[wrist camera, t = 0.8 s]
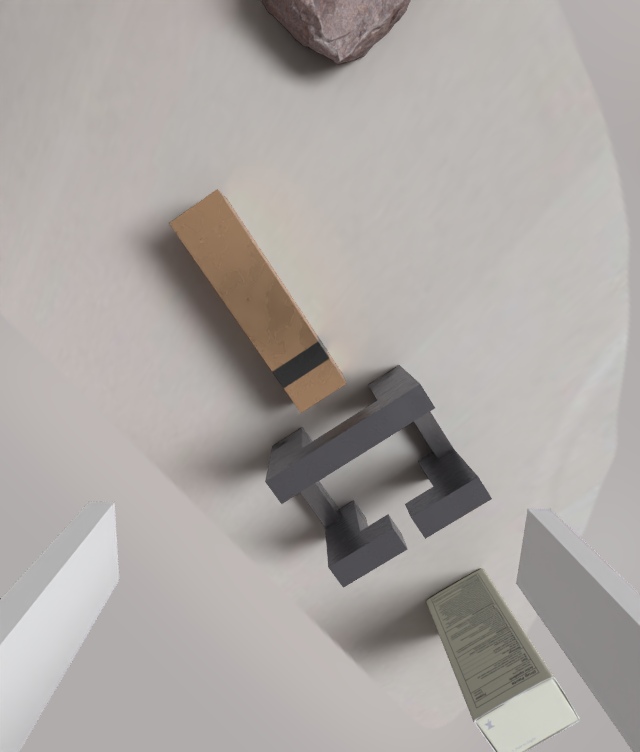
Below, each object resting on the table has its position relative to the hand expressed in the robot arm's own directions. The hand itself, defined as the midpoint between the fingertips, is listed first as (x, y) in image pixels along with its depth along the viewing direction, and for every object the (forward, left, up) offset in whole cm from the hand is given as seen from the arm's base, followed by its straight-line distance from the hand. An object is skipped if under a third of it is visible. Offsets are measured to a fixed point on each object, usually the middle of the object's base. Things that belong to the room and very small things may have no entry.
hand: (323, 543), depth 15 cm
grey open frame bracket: (+8, 0, -24) cm, 25 cm away
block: (-7, 0, -24) cm, 25 cm away
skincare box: (+25, 0, -24) cm, 34 cm away
